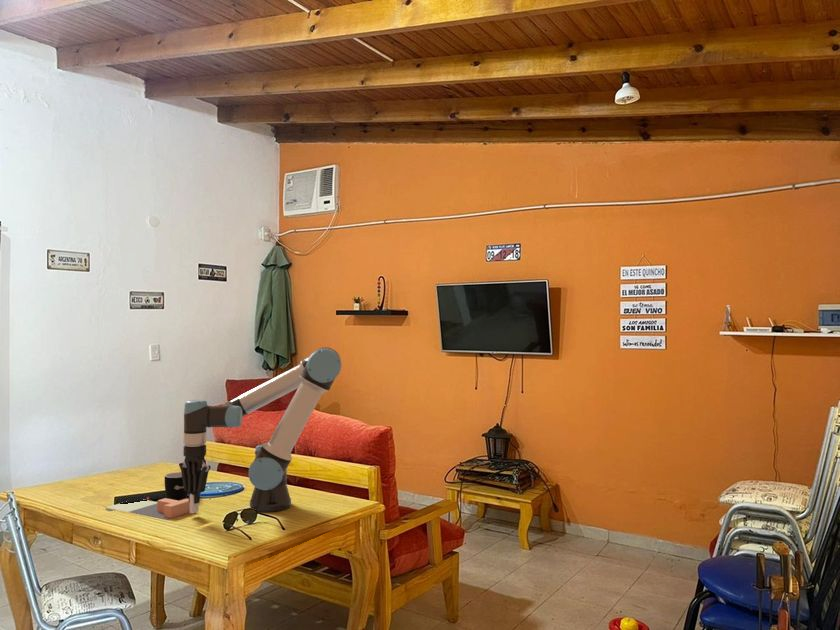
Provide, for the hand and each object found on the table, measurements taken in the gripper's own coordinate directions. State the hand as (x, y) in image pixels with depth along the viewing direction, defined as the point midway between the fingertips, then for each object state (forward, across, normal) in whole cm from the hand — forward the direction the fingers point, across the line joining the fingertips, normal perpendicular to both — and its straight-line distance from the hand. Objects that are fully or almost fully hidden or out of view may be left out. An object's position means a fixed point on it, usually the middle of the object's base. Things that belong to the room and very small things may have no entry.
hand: (194, 512), depth 225 cm
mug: (+3, +23, -15) cm, 28 cm away
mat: (+3, +21, 0) cm, 21 cm away
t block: (+2, +11, 0) cm, 11 cm away
